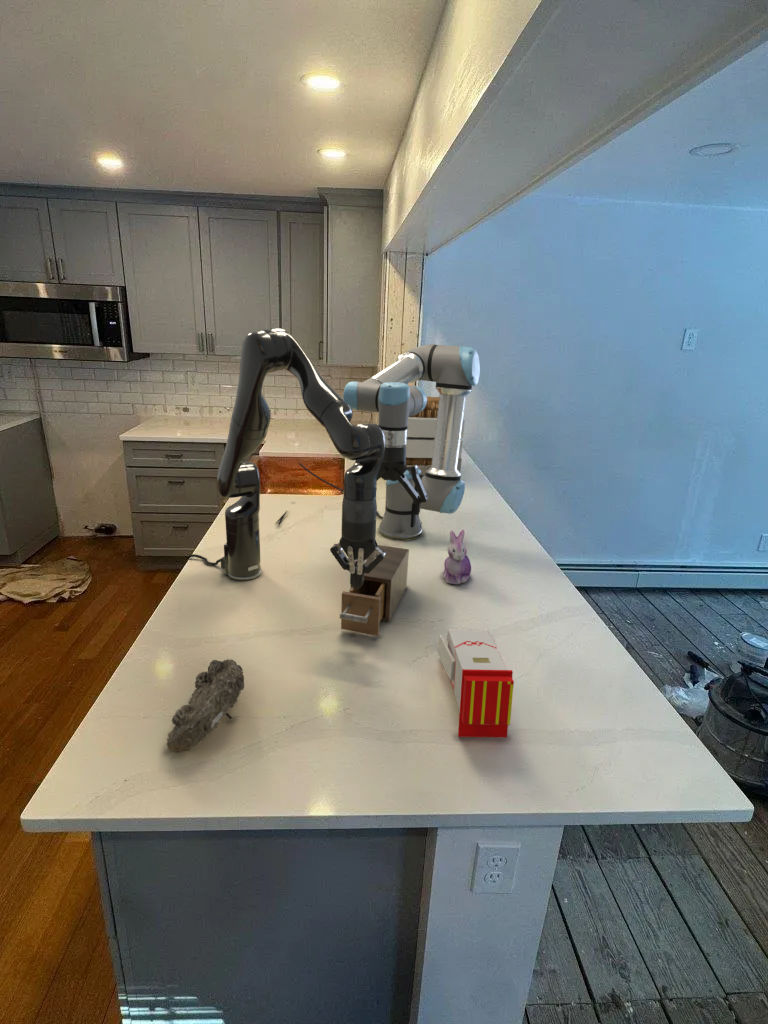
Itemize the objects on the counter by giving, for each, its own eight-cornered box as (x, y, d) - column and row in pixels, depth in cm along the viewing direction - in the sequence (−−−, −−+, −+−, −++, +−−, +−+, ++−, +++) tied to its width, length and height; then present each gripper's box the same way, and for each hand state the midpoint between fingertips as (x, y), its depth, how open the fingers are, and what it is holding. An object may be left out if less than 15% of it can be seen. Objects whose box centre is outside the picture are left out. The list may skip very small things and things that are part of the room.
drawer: (371, 648, 130) (372, 611, 127) (333, 641, 132) (333, 604, 129) (396, 599, 153) (398, 567, 149) (363, 594, 155) (364, 561, 151)
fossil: (192, 660, 117) (244, 628, 112) (224, 691, 120) (276, 661, 115) (142, 746, 98) (202, 712, 93) (182, 779, 101) (242, 748, 96)
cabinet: (389, 621, 144) (391, 580, 140) (349, 614, 146) (350, 573, 142) (406, 587, 162) (408, 549, 158) (371, 581, 164) (372, 544, 160)
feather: (294, 505, 227) (296, 501, 226) (277, 528, 200) (280, 524, 199) (290, 503, 226) (292, 499, 226) (273, 526, 200) (276, 521, 199)
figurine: (453, 588, 162) (457, 540, 157) (434, 573, 170) (437, 527, 165) (479, 582, 166) (485, 535, 161) (459, 568, 175) (464, 523, 170)
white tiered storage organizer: (382, 463, 289) (386, 382, 275) (445, 464, 293) (451, 384, 279) (390, 482, 257) (394, 392, 243) (460, 483, 261) (468, 394, 247)
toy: (488, 613, 130) (523, 677, 101) (484, 667, 133) (517, 744, 104) (435, 612, 130) (455, 676, 101) (432, 666, 133) (451, 743, 103)
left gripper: (324, 517, 121) (323, 589, 127) (384, 525, 118) (380, 599, 124) (336, 506, 128) (335, 575, 134) (392, 514, 125) (389, 584, 131)
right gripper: (340, 442, 144) (339, 520, 151) (437, 453, 139) (431, 533, 146) (350, 437, 151) (348, 511, 158) (442, 446, 145) (436, 523, 153)
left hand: (357, 587), depth 129 cm, fingers closed
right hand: (388, 522), depth 152 cm, fingers open, 13 cm apart
